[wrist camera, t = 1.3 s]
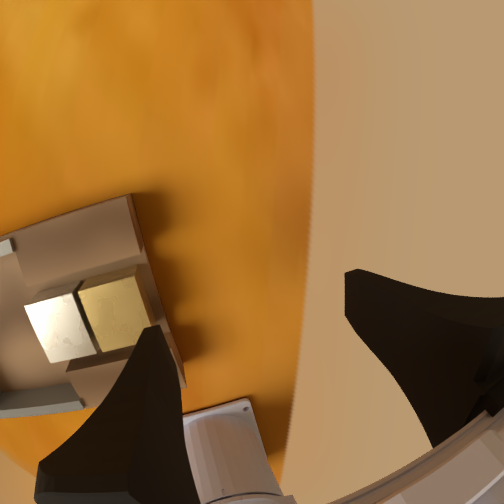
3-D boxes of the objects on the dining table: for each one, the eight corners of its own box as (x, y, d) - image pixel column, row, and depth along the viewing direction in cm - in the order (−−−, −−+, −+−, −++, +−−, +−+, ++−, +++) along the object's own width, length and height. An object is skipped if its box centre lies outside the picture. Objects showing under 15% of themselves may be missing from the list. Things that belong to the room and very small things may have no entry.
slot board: (183, 363, 22) (186, 388, 19) (5, 397, 18) (-6, 419, 15) (131, 193, 18) (125, 195, 15) (-58, 261, 15) (-78, 271, 12)
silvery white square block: (102, 334, 19) (96, 353, 16) (60, 344, 18) (50, 363, 16) (81, 279, 18) (71, 293, 15) (37, 291, 17) (24, 306, 15)
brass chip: (156, 321, 20) (156, 339, 17) (107, 333, 19) (102, 352, 17) (137, 264, 19) (134, 276, 16) (87, 277, 18) (77, 291, 15)
